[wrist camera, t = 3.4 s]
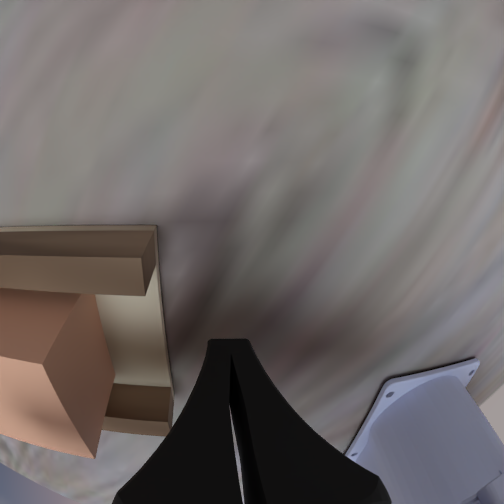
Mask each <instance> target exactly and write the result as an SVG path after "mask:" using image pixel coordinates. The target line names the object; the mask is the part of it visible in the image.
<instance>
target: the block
mask: <svg viewBox="0 0 504 504" xmlns="http://www.w3.org/2000/svg"><path fill="white" fill-rule="evenodd" d="M114 379H115V371H114V368H113V365H112V361H111V358H110V354H109V351H108V347H107V344H106V340H105V336H104V332H103V328H102V324H101V320H100V316H99V311H98V307H97V302H96V298H95V294H80V293H63V292H48V291H35V290H22V289H10V288H0V434H3V435H6V436H8V437H11V438H14V439H17V440H20V441H24V442H27V443H30V444H33V445H37V446H40V447H44V448H48V449H52V450H55V451H59V452H64V453H68V454H72V455H77V456H82V457H87V458H92V459H95V457H96V453H97V448H98V443H99V439H100V434H101V430H102V426H103V421H104V417H105V413H106V409H107V405H108V401H109V397H110V393H111V390H112V386H113V382H114Z"/></svg>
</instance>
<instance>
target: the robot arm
mask: <svg viewBox="0 0 504 504" xmlns="http://www.w3.org/2000/svg"><path fill="white" fill-rule="evenodd" d="M479 364H480V361H479V360H478V359H477V358H475V359H471V360H468V361H464V362H461V363H457V364H454V365H450V366H446V367H442V368H438V369H434V370H430V371H426V372H422V373H417V374H413V375H408V376H403V377H398V378H393V379H390V380H388V381H387V382H386V383H385V384H384V385H383V387H382V389H381V391H380V393H379V395H378V397H377V399H376V401H375V403H374V405H373V407H372V409H371V411H370V413H369V414H368V416H367V418H366V420H365V422H364V424H363V425H362V427H361V429H360V431H359V432H358V434H357V436H356V437H355V439H354V441H353V443H352V444H351V446H350V448H349V449H348V451H347V452H346V454H345V455H344V454H342V453H341V452H339V451H338V450H337V449H336V448H334V447H333V446H332V445H331V444H329V443H328V442H327V441H326V440H325V439H323V438H322V437H321V436H320V435H318V434H317V433H316V432H315V431H314V430H313V429H312V428H311V427H310V426H309V425H308V424H307V423H306V422H305V421H304V420H303V419H302V418H301V417H300V416H299V415H298V414H297V413H296V412H295V411H294V409H293V408H292V407H291V406H290V405H289V404H288V402H287V401H286V400H285V399H284V397H283V396H282V395H281V393H280V392H279V391H278V389H277V388H276V387H275V385H274V384H273V382H272V381H271V379H270V378H269V376H268V375H267V373H266V372H265V370H264V368H263V367H262V365H261V363H260V361H259V360H258V358H257V356H256V354H255V352H254V350H253V348H252V346H251V343H250V341H249V340H248V339H210V340H209V341H208V347H207V352H206V356H205V359H204V363H203V366H202V369H201V371H200V374H199V376H198V379H197V381H196V384H195V386H194V388H193V390H192V392H191V395H190V397H189V399H188V401H187V403H186V405H185V407H184V408H183V410H182V412H181V414H180V416H179V417H178V419H177V421H176V422H175V424H174V425H173V427H172V429H171V430H170V431H169V433H168V434H167V436H166V437H165V439H164V440H163V442H162V443H161V444H160V446H159V447H158V448H157V450H156V451H155V452H154V453H153V454H152V456H151V457H150V458H149V459H148V460H147V462H146V463H145V464H144V465H143V466H142V468H141V469H140V470H139V471H138V472H137V473H136V474H135V475H134V476H133V477H132V478H131V479H130V480H129V481H128V482H127V483H126V484H125V485H124V486H123V487H122V488H121V489H120V490H119V491H118V492H117V493H116V495H115V498H114V500H113V502H112V504H243V502H242V496H241V491H240V485H239V479H238V472H237V465H236V458H235V451H234V443H233V435H232V427H231V418H230V409H231V415H232V420H233V425H234V430H235V436H236V441H237V446H238V451H239V456H240V463H241V472H242V482H243V492H244V502H245V504H504V445H503V443H502V442H501V440H500V439H499V437H498V435H497V434H496V432H495V431H494V429H493V428H492V426H491V425H490V423H489V422H488V420H487V419H486V417H485V416H484V414H483V413H482V411H481V410H480V408H479V407H478V405H477V404H476V402H475V401H474V400H473V398H472V397H471V395H470V394H469V393H468V391H467V390H466V386H467V384H468V383H469V381H470V380H471V378H472V376H473V375H474V373H475V372H476V370H477V368H478V366H479ZM229 403H230V408H229ZM355 462H356V463H355Z"/></svg>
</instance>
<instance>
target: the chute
mask: <svg viewBox="0 0 504 504" xmlns="http://www.w3.org/2000/svg"><path fill="white" fill-rule="evenodd" d="M0 288H10V289H22V290H35V291H48V292H63V293H80V294H95V298H96V302H97V307H98V311H99V316H100V320H101V324H102V328H103V332H104V336H105V340H106V344H107V347H108V351H109V354H110V358H111V361H112V365H113V368H114V371H115V379H114V382H113V386H112V390H111V393H110V397H109V401H108V405H107V409H106V413H105V417H104V421H103V426H102V430H107V431H114V432H122V433H131V434H141V435H153V436H167V434H168V433H169V431H170V430H171V429H172V420H173V406H174V390H173V384H172V377H171V371H170V364H169V357H168V349H167V342H166V334H165V325H164V316H163V307H162V296H161V285H160V273H159V260H158V244H157V225H79V226H24V227H0Z"/></svg>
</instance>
